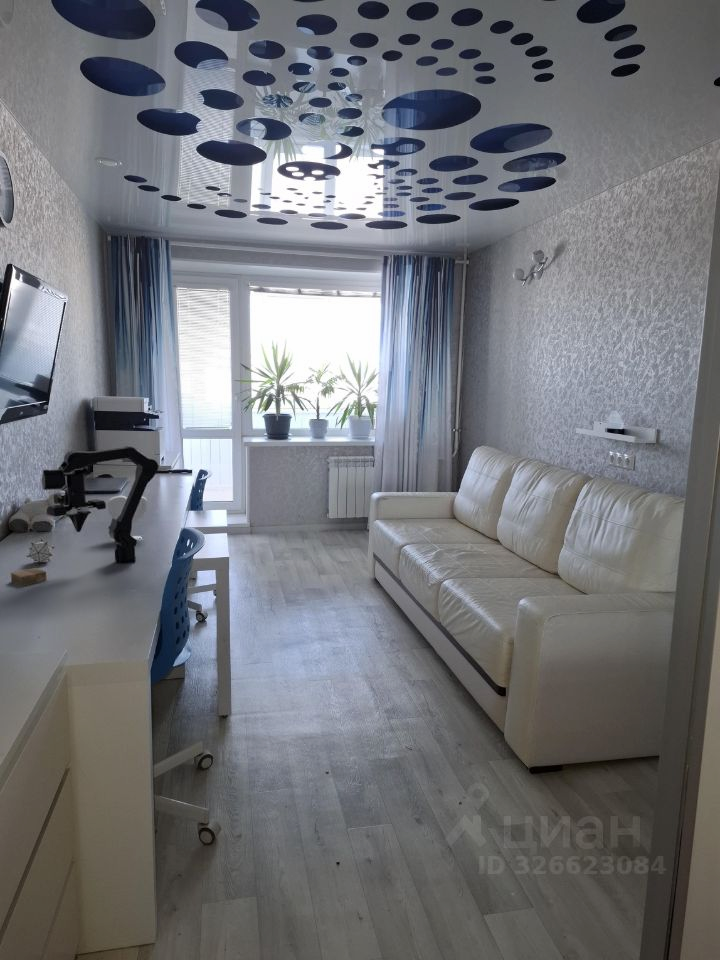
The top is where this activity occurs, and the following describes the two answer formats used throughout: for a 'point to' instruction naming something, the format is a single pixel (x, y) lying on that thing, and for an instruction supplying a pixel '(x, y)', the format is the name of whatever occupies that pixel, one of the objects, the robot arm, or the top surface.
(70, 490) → the robot arm
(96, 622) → the top surface
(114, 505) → the heart sculpture
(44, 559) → the game die
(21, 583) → the walnut block
